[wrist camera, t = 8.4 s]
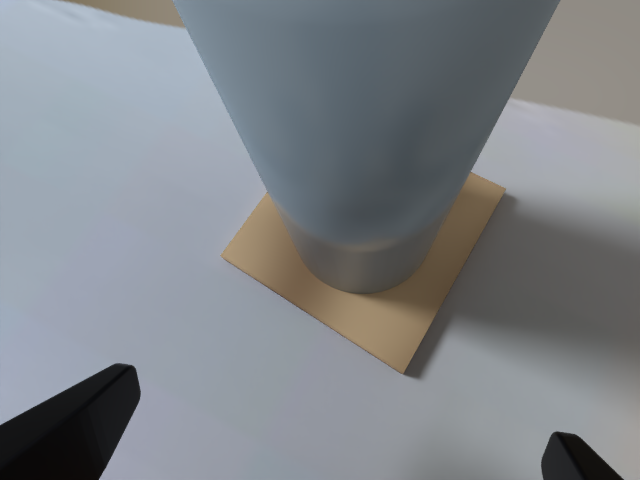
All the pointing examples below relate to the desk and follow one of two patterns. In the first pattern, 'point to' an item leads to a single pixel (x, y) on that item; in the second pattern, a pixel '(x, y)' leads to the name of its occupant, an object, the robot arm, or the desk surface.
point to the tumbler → (364, 114)
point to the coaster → (377, 308)
